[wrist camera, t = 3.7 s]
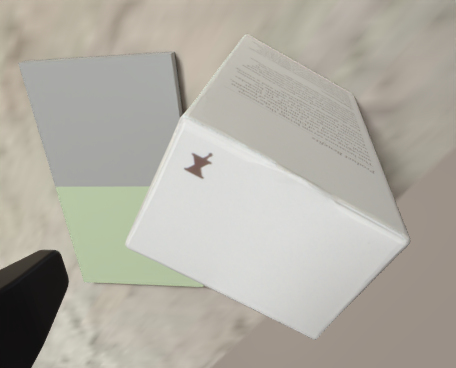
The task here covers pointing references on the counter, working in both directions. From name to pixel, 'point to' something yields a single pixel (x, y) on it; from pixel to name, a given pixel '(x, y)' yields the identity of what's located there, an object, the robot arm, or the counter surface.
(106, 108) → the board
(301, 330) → the skincare box
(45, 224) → the counter surface
